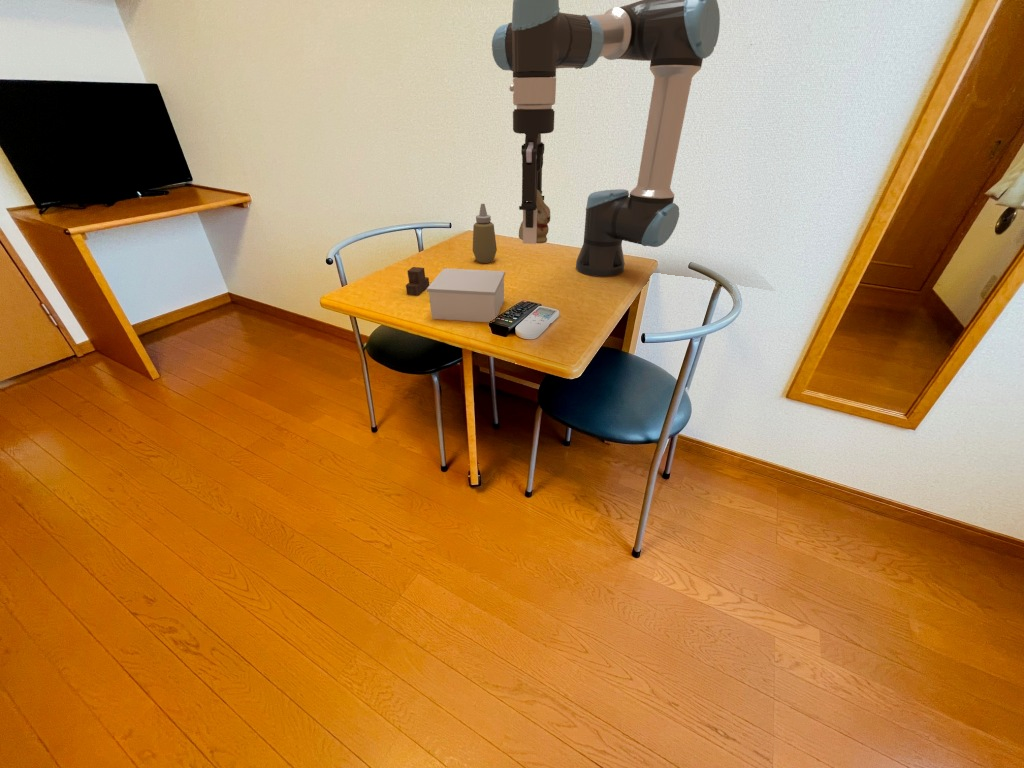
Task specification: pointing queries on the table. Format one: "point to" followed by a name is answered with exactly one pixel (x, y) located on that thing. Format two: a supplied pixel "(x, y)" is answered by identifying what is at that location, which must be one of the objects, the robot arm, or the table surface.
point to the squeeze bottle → (484, 237)
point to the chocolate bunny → (540, 220)
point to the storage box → (467, 295)
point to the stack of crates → (417, 281)
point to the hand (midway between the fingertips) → (531, 237)
